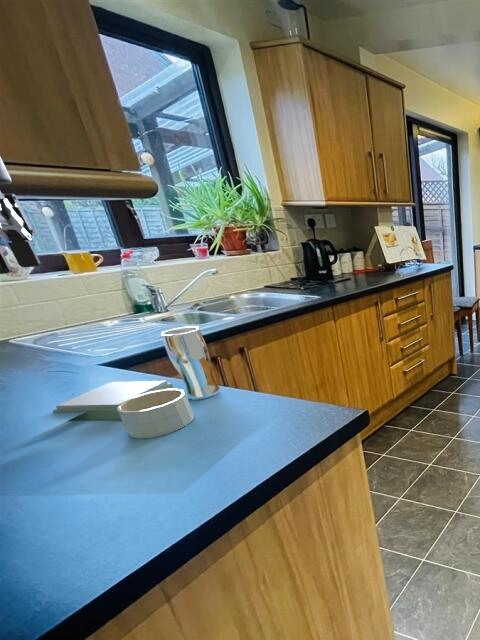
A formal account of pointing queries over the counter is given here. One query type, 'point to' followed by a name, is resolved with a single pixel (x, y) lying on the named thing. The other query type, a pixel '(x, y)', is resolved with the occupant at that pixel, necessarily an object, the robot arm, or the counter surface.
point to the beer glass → (191, 361)
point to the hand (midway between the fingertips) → (17, 270)
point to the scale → (108, 399)
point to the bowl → (156, 413)
